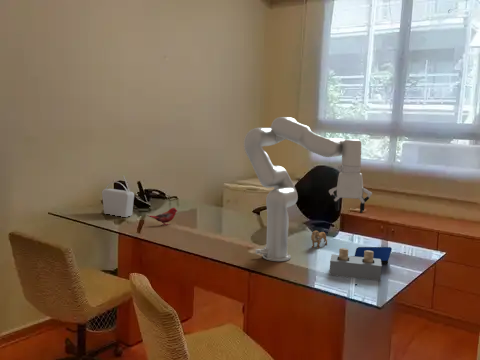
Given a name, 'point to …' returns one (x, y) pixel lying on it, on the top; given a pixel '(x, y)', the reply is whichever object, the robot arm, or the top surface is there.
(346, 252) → the peg
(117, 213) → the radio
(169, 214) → the decorative bird figurine
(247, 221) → the top surface
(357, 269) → the block
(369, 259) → the peg
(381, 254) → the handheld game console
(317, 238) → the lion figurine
